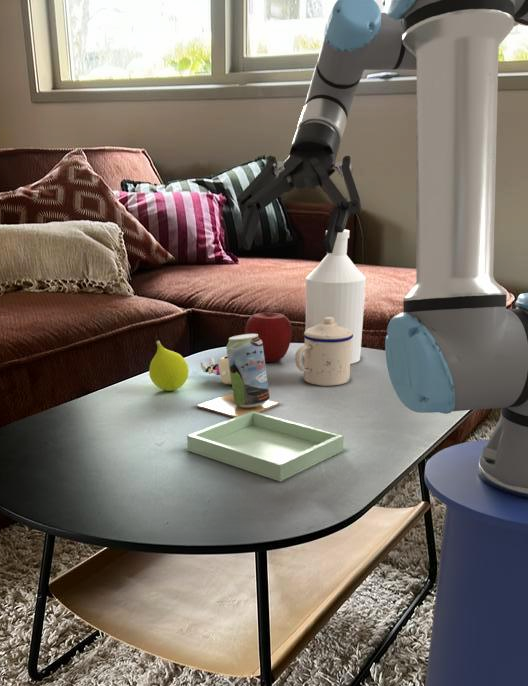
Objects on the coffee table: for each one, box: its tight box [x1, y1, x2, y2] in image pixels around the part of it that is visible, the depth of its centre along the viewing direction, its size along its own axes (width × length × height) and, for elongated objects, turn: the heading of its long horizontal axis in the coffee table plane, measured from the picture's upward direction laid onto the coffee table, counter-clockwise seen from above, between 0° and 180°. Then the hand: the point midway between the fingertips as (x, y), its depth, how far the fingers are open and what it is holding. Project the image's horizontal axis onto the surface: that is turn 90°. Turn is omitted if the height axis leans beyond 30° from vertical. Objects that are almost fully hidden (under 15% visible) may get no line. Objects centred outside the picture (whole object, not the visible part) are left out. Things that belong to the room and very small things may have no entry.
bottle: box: [305, 229, 367, 365], centre depth 153 cm, size 12×12×25 cm
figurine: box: [200, 355, 232, 385], centre depth 143 cm, size 7×6×12 cm
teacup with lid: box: [294, 317, 353, 387], centre depth 141 cm, size 12×9×12 cm
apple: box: [244, 311, 293, 363], centre depth 155 cm, size 10×10×10 cm
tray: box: [186, 411, 345, 482], centre depth 111 cm, size 18×15×2 cm
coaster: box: [196, 392, 280, 418], centre depth 131 cm, size 10×10×1 cm
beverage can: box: [226, 333, 270, 408], centre depth 127 cm, size 6×7×12 cm
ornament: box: [148, 334, 189, 392], centre depth 138 cm, size 7×7×10 cm
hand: (285, 246), depth 118 cm, fingers open, 13 cm apart
